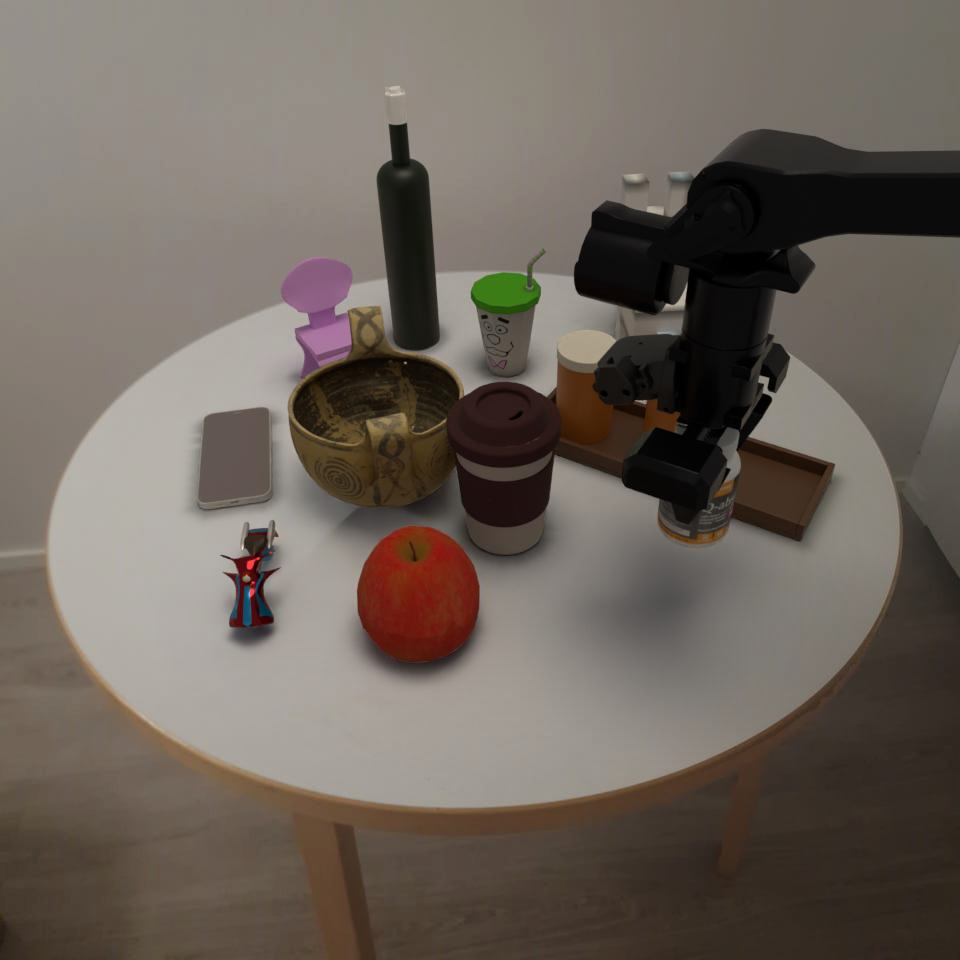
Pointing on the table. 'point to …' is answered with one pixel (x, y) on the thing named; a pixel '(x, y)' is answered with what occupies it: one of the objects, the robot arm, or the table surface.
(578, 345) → the amber bottle far
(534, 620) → the table surface
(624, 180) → the toy llama
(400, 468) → the ceramic bowl
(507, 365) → the cup
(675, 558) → the table surface
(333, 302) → the toy chair
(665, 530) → the pill bottle
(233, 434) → the smartphone
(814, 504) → the tray
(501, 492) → the coffee cup
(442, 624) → the apple
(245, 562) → the hoverbike
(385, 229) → the wine bottle
